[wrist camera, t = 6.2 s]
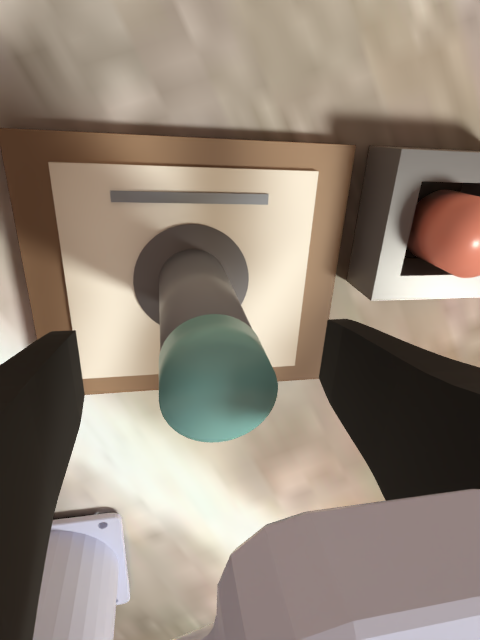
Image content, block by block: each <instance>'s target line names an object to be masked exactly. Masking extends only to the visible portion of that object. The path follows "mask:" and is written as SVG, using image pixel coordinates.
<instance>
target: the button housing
mask: <svg viewBox="0 0 480 640" xmlns="http://www.w3.org/2000/svg"><path fill="white" fill-rule="evenodd" d="M422 181H428V182H461V183H463V184H462V188H461V191H460V192H461V193H466V194H470V195H475V196H479V197H480V151H472V150H451V149H430V148H409V147H388V146H369V152H368V158H367V164H366V170H365V176H364V181H363V187H362V193H361V199H360V205H359V211H358V217H357V223H356V228H355V234H354V240H353V246H352V252H351V258H350V264H349V270H348V275H347V282H349V283H350V284H351V285H352V286H354V287H355V288H356V289H357V290H358V291H360V292H361V293H362V294H363V295H365V296H366V297H367V298H368V299H370V300H371V301H382V300H413V299H445V298H477V297H480V275H479V276H476V277H472V278H460V277H457V276H454V275H452V274H450V273H448V272H446V271H444V270H442V269H440V268H438V267H436V266H434V265H432V264H430V263H428V262H426V261H424V260H422V259H421V258H404V257H405V252H406V248H407V244H408V239H409V235H410V230H411V226H412V222H413V217H414V213H415V209H416V204H417V200H418V195H419V191H420V187H421V182H422Z"/></svg>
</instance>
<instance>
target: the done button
mask: <svg viewBox="0 0 480 640" xmlns="http://www.w3.org/2000/svg"><path fill="white" fill-rule="evenodd" d="M407 247H408V249H409V250H410V251H411V253H413V254H414V255H415V256H417V257H419V258H421V259H422V260H424V261H426V262H428V263H430V264H432V265H434V266H436V267H438V268H440V269H442V270H444V271H446V272H448V273H450V274H452V275H454V276H457V277H460V278H472V277H476V276H479V275H480V197H479V196H475V195H470V194H466V193H461V192H457V191H452V190H439V191H435V192H433V193H431V194H429V195H427V196H425V197H424V198H423V199H422V200H420V201H419V202H418V203H417V205H416V209H415V213H414V217H413V222H412V226H411V230H410V235H409V239H408V244H407Z"/></svg>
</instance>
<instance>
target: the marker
mask: <svg viewBox="0 0 480 640" xmlns="http://www.w3.org/2000/svg"><path fill="white" fill-rule="evenodd" d="M159 312H160V355H159V404H160V409H161V412H162V415H163V417H164V418H165V420H166V421H167V423H168V424H169V425H170V426H171V427H172V428H173V429H174V430H175V431H177V432H178V433H179V434H181V435H183V436H185V437H187V438H190V439H193V440H196V441H202V442H222V441H228V440H232V439H235V438H238V437H240V436H242V435H245V434H247V433H248V432H250V431H252V430H253V429H254V428H256V427H257V426H258V425H259V424H261V423H262V422H263V421H264V419H265V418H266V417H267V416H268V415H269V413H270V411H271V410H272V408H273V406H274V404H275V401H276V398H277V392H278V383H277V377H276V374H275V371H274V369H273V367H272V365H271V363H270V361H269V359H268V357H267V355H266V353H265V351H264V349H263V346H262V344H261V342H260V340H259V338H258V336H257V335H256V333H255V332H254V331H253V330H252V327H251V325H250V323H249V321H248V319H247V317H246V315H245V313H244V310H243V308H242V306H241V304H240V302H239V300H238V298H237V296H236V293H235V291H234V289H233V287H232V285H231V283H230V281H229V279H228V277H227V274H226V272H225V270H224V268H223V266H222V264H221V263H220V262H219V260H218V259H217V258H216V257H214V256H213V255H212V254H210V253H208V252H206V251H202V250H197V249H189V250H184V251H181V252H178V253H176V254H175V255H173V256H172V257H170V258H169V259H168V260H167V261H166V263H165V264H164V266H163V267H162V269H161V272H160V276H159Z"/></svg>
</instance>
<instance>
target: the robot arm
mask: <svg viewBox="0 0 480 640" xmlns="http://www.w3.org/2000/svg"><path fill="white" fill-rule="evenodd" d="M319 379H320V381H321V384H322V386H323V389H324V391H325V394H326V396H327V398H328V400H329V403H330V405H331V406H332V408H333V410H334V411H335V413H336V415H337V416H338V418H339V419H340V421H341V423H342V424H343V426H344V427H345V429H346V431H347V432H348V434H349V435H350V437H351V439H352V440H353V442H354V443H355V445H356V447H357V448H358V450H359V451H360V453H361V455H362V456H363V458H364V459H365V461H366V463H367V464H368V466H369V468H370V470H371V471H372V473H373V475H374V477H375V479H376V481H377V483H378V485H379V487H380V490H381V492H382V494H383V496H384V498H385V500H386V501H381V502H374V503H366V504H359V505H352V506H345V507H337V508H330V509H323V510H315V511H308V512H304V513H300V514H297V515H294V516H291V517H288V518H285V519H282V520H279V521H276V522H273V523H270V524H267V525H265V526H264V527H263V528H261V529H260V530H259V531H258V532H256V533H255V534H254V535H253V536H251V537H250V538H249V539H248V540H246V541H245V542H244V543H243V544H241V545H240V546H239V547H238V548H236V549H235V551H234V552H233V553H232V554H231V555H230V557H229V560H228V562H227V564H226V567H225V569H224V571H223V574H222V576H221V578H220V581H219V583H218V590H217V615H216V619H215V622H214V623H212V624H209V625H207V626H204V627H202V628H199V629H197V630H194V631H192V632H189V633H187V634H184V635H182V636H179V637H177V638H174V639H172V640H480V368H479V367H476V366H472V365H469V364H466V363H462V362H459V361H456V360H452V359H449V358H447V357H444V356H441V355H438V354H435V353H433V352H430V351H427V350H425V349H422V348H419V347H417V346H414V345H412V344H409V343H407V342H405V341H402V340H400V339H397V338H395V337H393V336H390V335H388V334H386V333H383V332H381V331H379V330H376V329H374V328H371V327H369V326H366V325H364V324H361V323H359V322H356V321H352V320H349V319H334V320H327V327H326V333H325V340H324V346H323V353H322V360H321V366H320V373H319ZM84 395H85V393H84V386H83V379H82V371H81V364H80V357H79V350H78V343H77V336H76V330H70V331H51V332H49V333H47V334H46V335H44V336H42V337H41V338H39V339H38V340H36V341H35V342H34V343H32V344H31V345H29V346H28V347H26V348H25V349H23V350H22V351H20V352H19V353H18V354H16V355H15V356H13V357H12V358H10V359H9V360H7V361H6V362H4V363H3V364H1V365H0V640H113V636H114V624H115V611H116V605H120V604H124V603H126V602H128V601H129V599H130V587H129V578H128V570H127V561H126V552H125V543H124V534H123V525H122V517H121V515H120V514H118V513H104V514H96V515H88V516H80V517H72V518H64V519H56V520H53V516H54V512H55V508H56V504H57V500H58V496H59V493H60V490H61V486H62V483H63V480H64V477H65V473H66V470H67V467H68V463H69V460H70V457H71V454H72V450H73V447H74V444H75V440H76V437H77V434H78V430H79V427H80V422H81V416H82V409H83V402H84Z"/></svg>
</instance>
